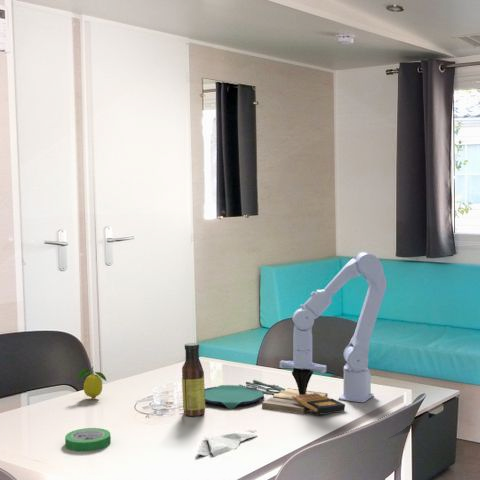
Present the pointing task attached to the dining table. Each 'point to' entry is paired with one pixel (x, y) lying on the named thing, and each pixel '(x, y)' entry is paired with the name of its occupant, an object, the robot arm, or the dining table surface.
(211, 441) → the cloth
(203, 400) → the sauce bottle
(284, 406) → the floor row
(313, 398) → the ammunition clip
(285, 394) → the plank
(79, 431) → the tape roll
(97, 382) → the lemon
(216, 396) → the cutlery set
